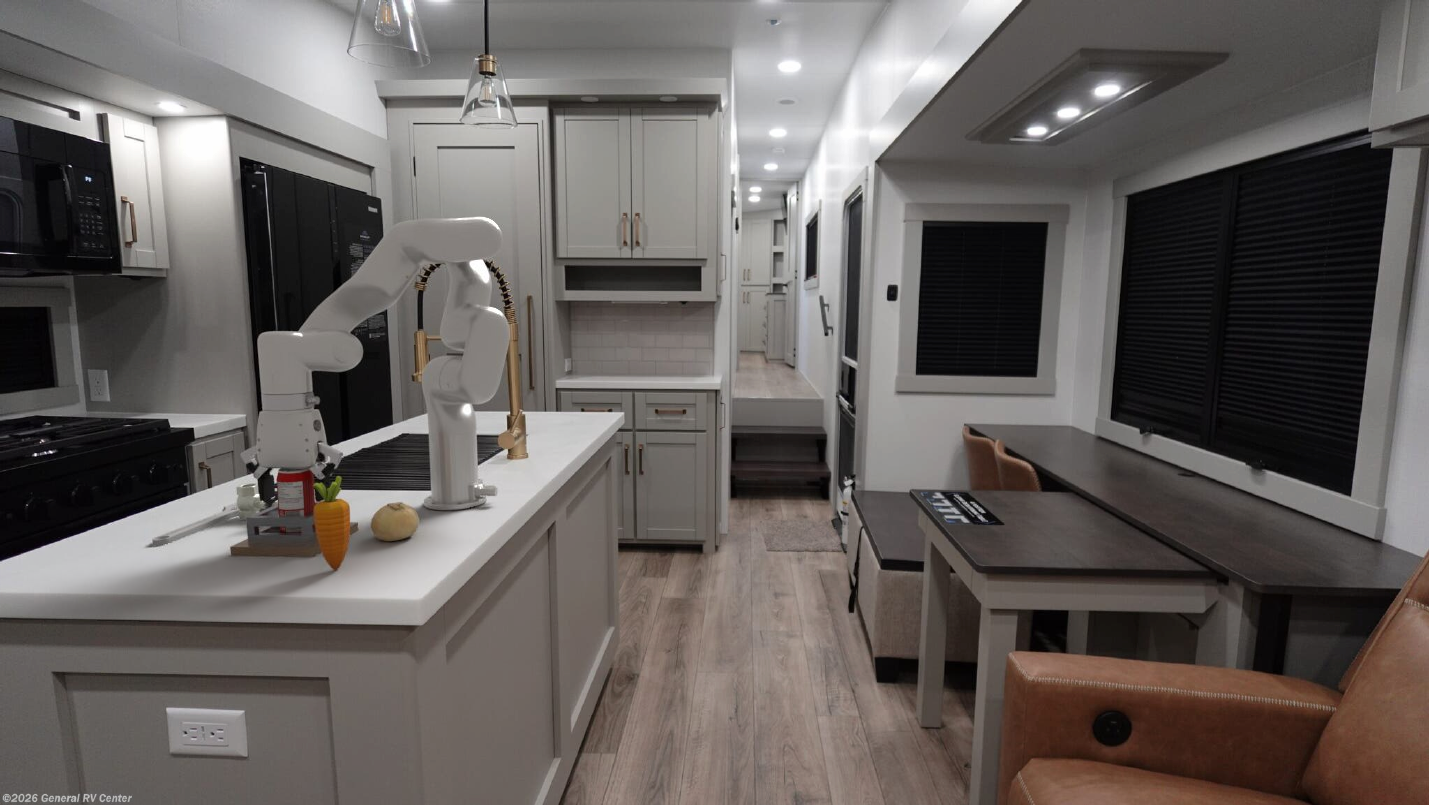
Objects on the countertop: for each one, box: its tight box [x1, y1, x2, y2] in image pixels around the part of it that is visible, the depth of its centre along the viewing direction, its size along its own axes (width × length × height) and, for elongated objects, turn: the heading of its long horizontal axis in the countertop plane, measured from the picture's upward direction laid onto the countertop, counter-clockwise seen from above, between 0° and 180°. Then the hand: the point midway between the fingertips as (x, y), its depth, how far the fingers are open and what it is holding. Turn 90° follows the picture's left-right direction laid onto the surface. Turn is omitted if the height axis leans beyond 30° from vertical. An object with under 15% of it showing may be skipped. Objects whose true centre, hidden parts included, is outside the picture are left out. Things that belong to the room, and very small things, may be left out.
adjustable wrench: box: [152, 502, 240, 546], centre depth 130 cm, size 25×6×2 cm, turn 173°
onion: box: [370, 501, 420, 542], centre depth 123 cm, size 8×8×7 cm
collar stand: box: [229, 500, 359, 557], centre depth 120 cm, size 14×14×6 cm
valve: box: [235, 482, 278, 521], centre depth 133 cm, size 7×7×12 cm
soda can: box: [276, 468, 316, 533], centre depth 120 cm, size 6×6×12 cm
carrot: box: [313, 475, 351, 571], centre depth 106 cm, size 5×5×15 cm
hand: (295, 499), depth 119 cm, fingers open, 9 cm apart
